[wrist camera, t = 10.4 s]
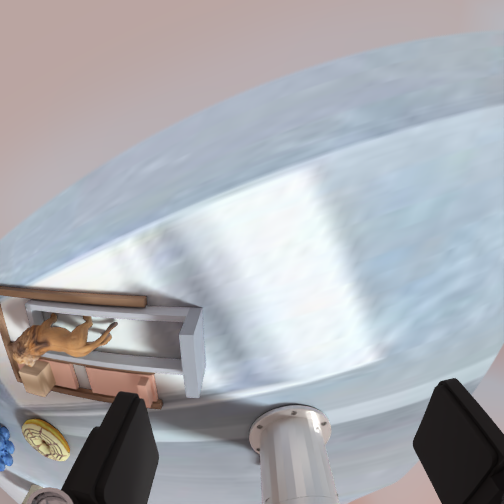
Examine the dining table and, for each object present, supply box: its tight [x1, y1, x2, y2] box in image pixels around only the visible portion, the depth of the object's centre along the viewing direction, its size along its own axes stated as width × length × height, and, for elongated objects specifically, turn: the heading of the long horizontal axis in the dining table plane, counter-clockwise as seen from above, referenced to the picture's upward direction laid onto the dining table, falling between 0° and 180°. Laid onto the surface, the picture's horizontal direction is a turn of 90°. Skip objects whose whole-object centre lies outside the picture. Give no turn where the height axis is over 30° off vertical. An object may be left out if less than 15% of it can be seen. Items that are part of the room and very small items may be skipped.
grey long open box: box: [25, 299, 206, 398], centre depth 35 cm, size 8×26×7 cm, turn 90°
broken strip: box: [18, 358, 158, 408], centre depth 39 cm, size 5×26×3 cm, turn 89°
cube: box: [19, 360, 56, 397], centre depth 38 cm, size 4×4×4 cm
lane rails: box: [0, 286, 163, 409], centre depth 39 cm, size 18×28×1 cm, turn 90°
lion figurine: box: [13, 313, 118, 367], centre depth 34 cm, size 15×5×9 cm, turn 102°
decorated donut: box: [22, 419, 70, 461], centre depth 43 cm, size 10×11×4 cm
